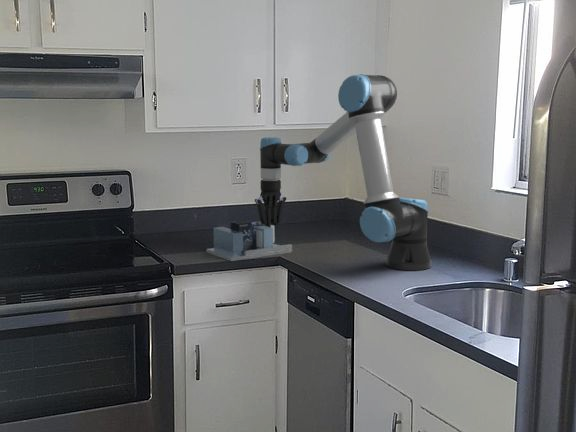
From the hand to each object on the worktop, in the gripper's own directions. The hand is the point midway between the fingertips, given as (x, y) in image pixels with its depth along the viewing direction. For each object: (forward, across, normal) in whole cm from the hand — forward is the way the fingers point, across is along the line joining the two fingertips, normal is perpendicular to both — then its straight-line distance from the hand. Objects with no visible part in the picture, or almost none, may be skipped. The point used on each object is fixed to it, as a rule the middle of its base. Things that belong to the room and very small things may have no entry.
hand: (270, 242), depth 279 cm
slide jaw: (+1, +6, 0) cm, 6 cm away
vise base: (+3, +9, 0) cm, 10 cm away
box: (+2, +12, 0) cm, 12 cm away
